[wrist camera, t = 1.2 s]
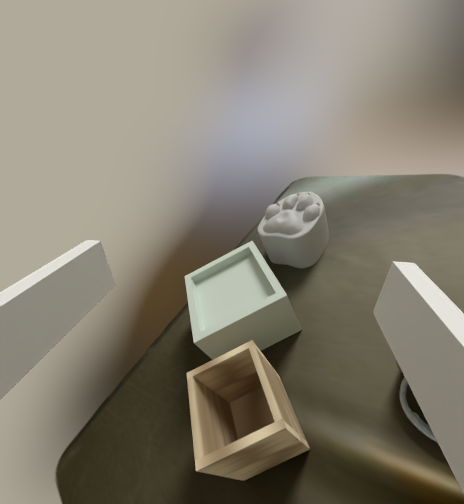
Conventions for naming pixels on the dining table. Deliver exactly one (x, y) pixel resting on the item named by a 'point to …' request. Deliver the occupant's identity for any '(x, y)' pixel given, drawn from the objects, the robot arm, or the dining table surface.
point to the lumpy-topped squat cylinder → (295, 230)
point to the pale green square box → (238, 303)
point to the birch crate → (241, 416)
